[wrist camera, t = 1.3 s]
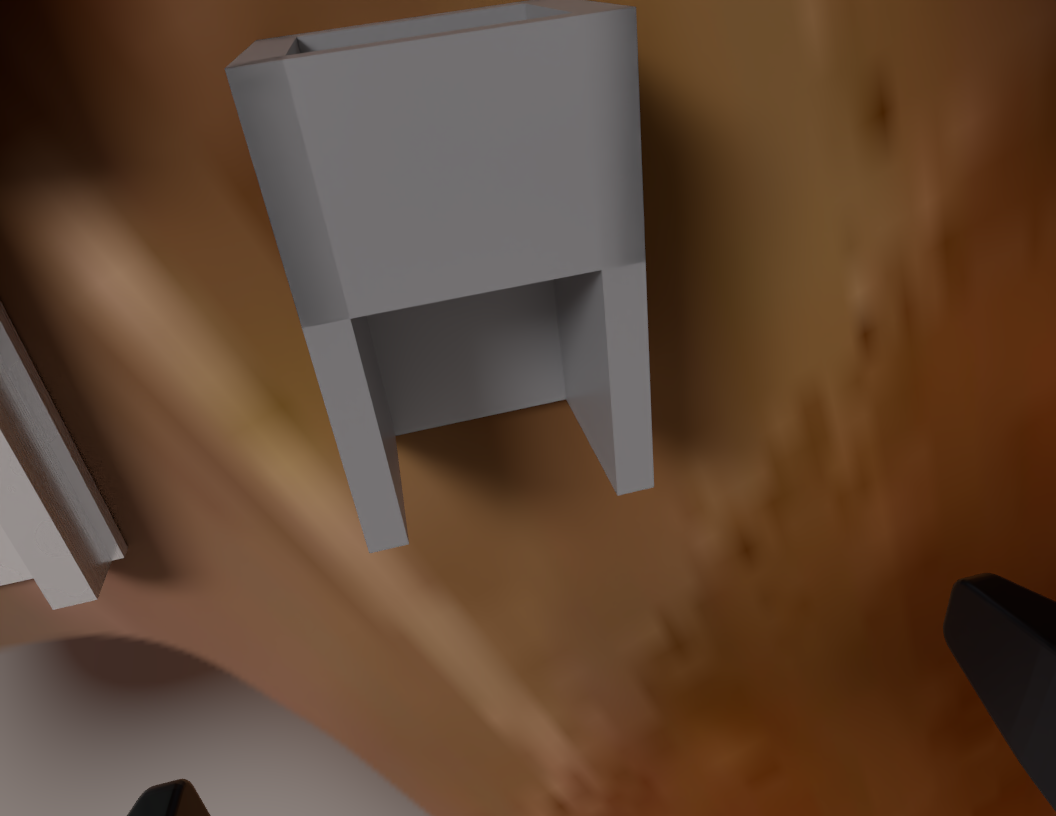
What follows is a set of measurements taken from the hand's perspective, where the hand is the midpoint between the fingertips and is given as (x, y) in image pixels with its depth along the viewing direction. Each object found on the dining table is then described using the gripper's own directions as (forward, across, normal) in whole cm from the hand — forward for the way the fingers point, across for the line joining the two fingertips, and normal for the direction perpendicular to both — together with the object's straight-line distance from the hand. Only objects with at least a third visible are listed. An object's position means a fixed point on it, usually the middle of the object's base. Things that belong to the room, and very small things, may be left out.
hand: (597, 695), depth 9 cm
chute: (+12, 0, -2) cm, 12 cm away
